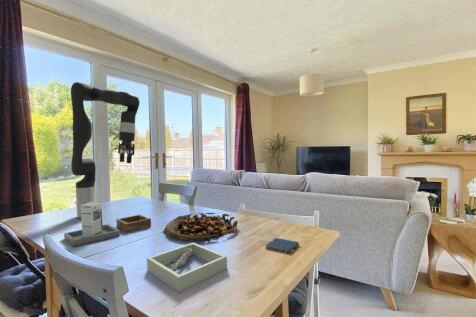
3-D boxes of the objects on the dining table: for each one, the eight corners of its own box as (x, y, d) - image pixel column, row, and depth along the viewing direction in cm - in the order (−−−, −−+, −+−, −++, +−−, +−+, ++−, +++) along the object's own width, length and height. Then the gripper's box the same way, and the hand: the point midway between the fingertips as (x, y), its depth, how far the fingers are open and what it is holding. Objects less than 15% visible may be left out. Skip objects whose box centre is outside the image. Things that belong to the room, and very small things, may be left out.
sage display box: (147, 270, 82) (146, 258, 82) (193, 253, 95) (193, 242, 95) (178, 291, 70) (178, 277, 69) (227, 268, 83) (226, 256, 82)
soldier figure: (160, 275, 81) (175, 249, 92) (173, 284, 82) (186, 257, 93) (174, 262, 78) (187, 237, 89) (186, 271, 79) (198, 245, 90)
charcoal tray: (64, 238, 112) (64, 233, 112) (108, 229, 125) (108, 224, 125) (73, 247, 102) (72, 241, 102) (119, 235, 115) (119, 230, 115)
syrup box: (93, 238, 110) (92, 204, 109) (81, 237, 111) (80, 204, 111) (103, 234, 116) (102, 202, 115) (91, 233, 117) (90, 201, 116)
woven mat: (290, 256, 93) (290, 250, 93) (264, 250, 98) (264, 244, 98) (300, 246, 101) (300, 241, 101) (275, 241, 107) (275, 236, 107)
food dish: (246, 225, 132) (246, 210, 132) (220, 251, 101) (221, 232, 101) (186, 217, 144) (186, 203, 143) (147, 238, 113) (147, 221, 112)
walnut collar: (116, 227, 127) (116, 219, 127) (140, 221, 136) (139, 214, 136) (126, 232, 119) (126, 224, 119) (151, 226, 128) (150, 218, 128)
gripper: (114, 131, 137) (112, 161, 137) (125, 130, 127) (123, 163, 127) (128, 132, 142) (126, 161, 143) (140, 132, 133) (138, 163, 133)
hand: (125, 162), depth 135 cm, fingers open, 8 cm apart
